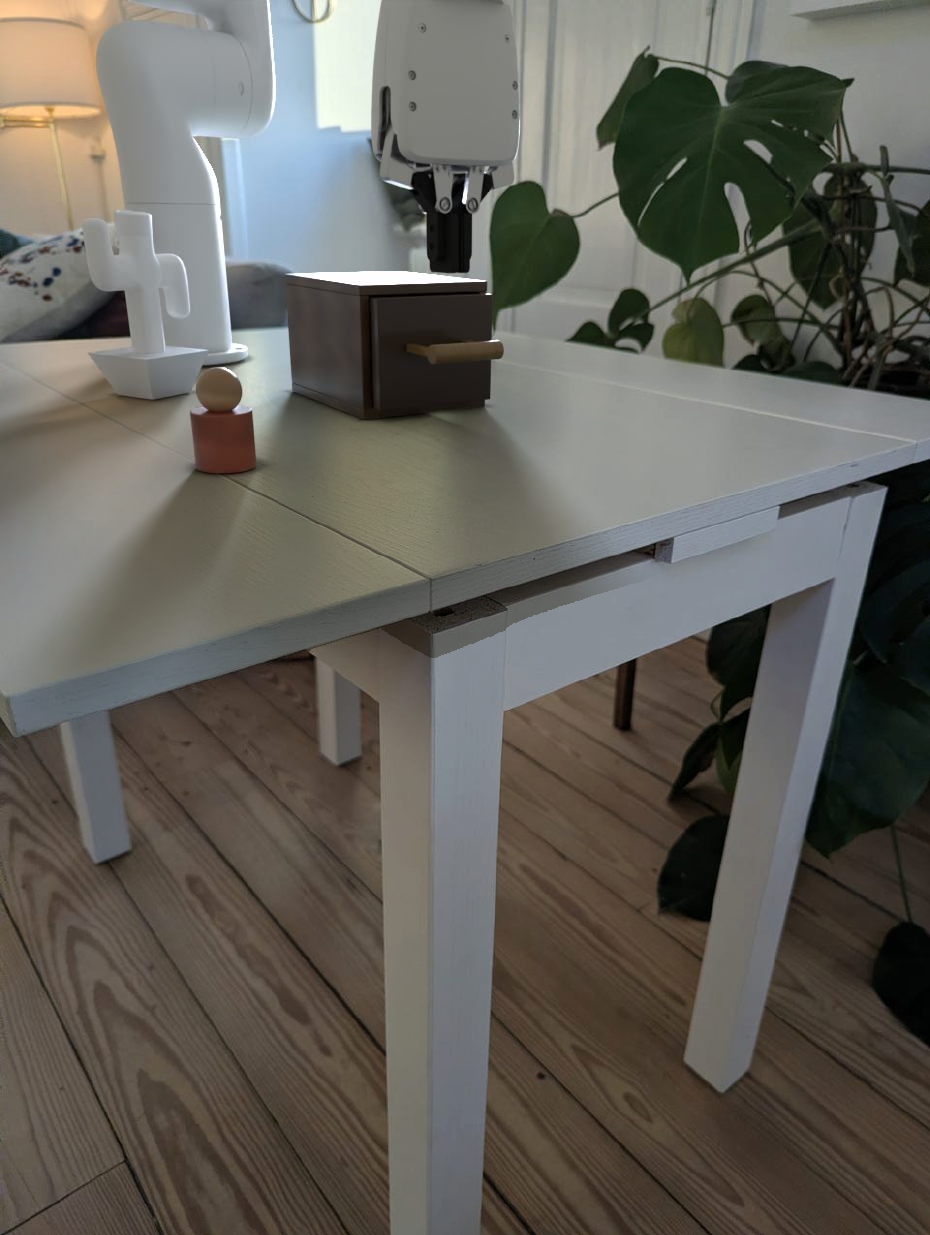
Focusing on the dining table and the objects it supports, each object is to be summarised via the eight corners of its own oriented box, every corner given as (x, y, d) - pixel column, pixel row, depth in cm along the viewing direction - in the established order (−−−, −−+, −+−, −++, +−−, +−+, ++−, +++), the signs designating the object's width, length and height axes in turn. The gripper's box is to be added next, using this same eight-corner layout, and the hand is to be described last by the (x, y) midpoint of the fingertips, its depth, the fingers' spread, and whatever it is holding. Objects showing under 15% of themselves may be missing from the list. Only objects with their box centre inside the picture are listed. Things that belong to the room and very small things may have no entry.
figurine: (221, 390, 83) (205, 211, 77) (141, 406, 76) (116, 209, 70) (165, 382, 87) (145, 210, 81) (83, 397, 79) (54, 209, 73)
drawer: (525, 409, 72) (529, 299, 69) (411, 422, 67) (409, 304, 64) (411, 376, 86) (410, 283, 83) (309, 385, 81) (304, 286, 78)
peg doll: (188, 463, 59) (177, 365, 56) (244, 456, 61) (236, 361, 58) (206, 476, 56) (196, 374, 53) (265, 469, 58) (257, 369, 55)
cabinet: (485, 406, 78) (487, 281, 74) (363, 419, 72) (359, 284, 68) (402, 381, 89) (401, 271, 85) (292, 391, 83) (284, 273, 79)
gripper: (507, 3, 67) (503, 268, 75) (322, -25, 60) (336, 272, 67) (571, -18, 61) (559, 272, 69) (374, -52, 54) (384, 277, 61)
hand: (449, 271), depth 68 cm, fingers closed
